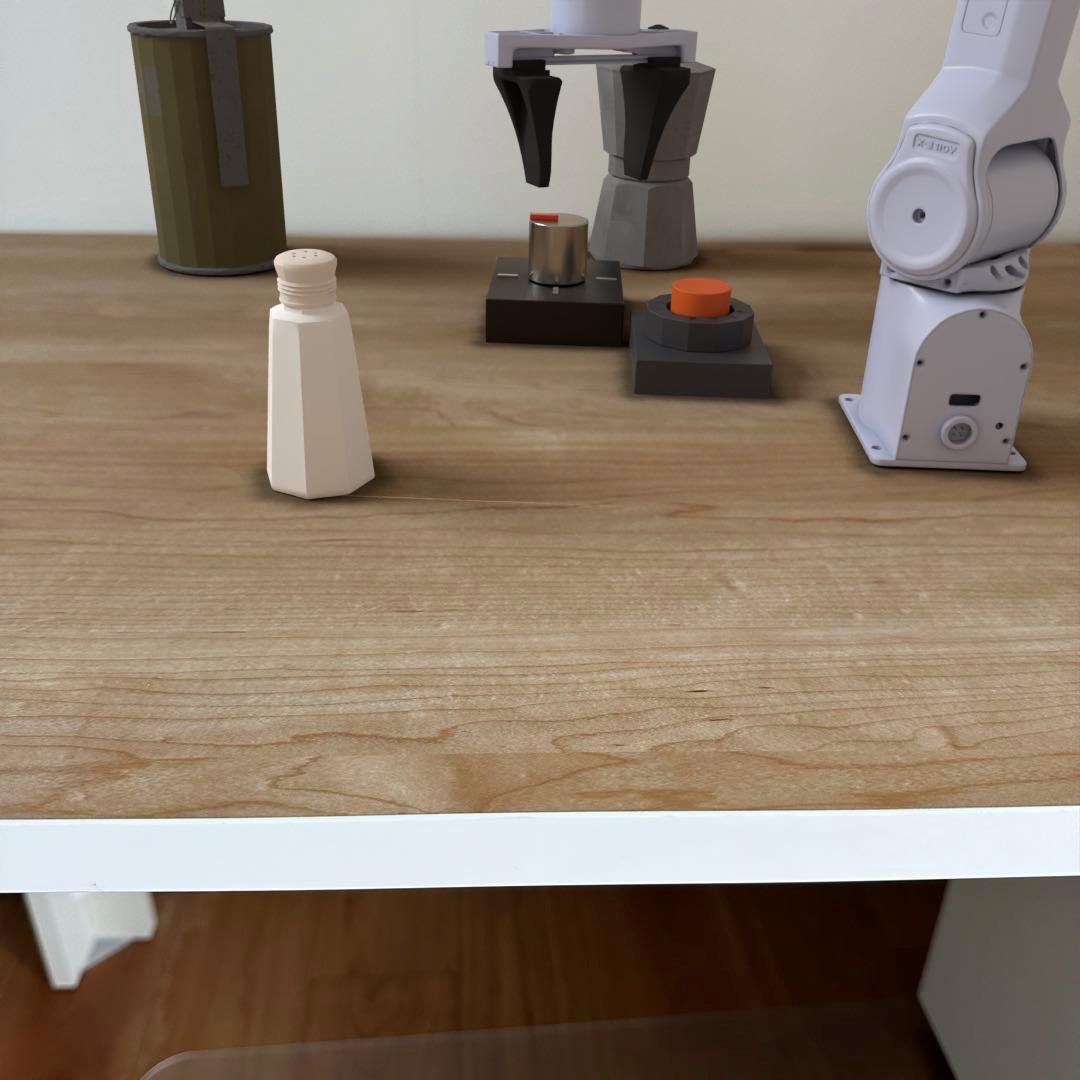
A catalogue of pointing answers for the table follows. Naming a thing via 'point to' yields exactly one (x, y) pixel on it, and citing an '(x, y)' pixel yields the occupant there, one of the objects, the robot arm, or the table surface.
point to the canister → (211, 139)
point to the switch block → (698, 353)
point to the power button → (701, 297)
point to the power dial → (557, 248)
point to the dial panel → (555, 307)
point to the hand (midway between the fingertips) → (587, 181)
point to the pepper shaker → (314, 384)
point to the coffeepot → (650, 180)
